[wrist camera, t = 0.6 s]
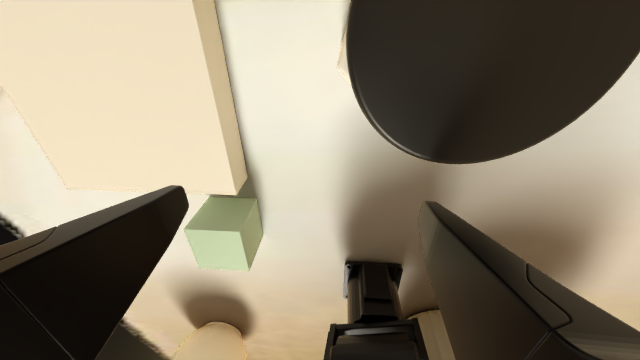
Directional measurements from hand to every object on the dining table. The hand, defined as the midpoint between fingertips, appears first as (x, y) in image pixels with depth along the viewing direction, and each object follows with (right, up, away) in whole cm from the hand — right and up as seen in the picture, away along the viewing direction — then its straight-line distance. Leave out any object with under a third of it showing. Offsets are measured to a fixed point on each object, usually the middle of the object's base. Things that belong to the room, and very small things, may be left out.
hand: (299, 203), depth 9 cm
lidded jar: (-15, -23, +31) cm, 41 cm away
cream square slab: (-14, +8, +11) cm, 20 cm away
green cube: (-8, -3, +18) cm, 20 cm away
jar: (+7, +11, +8) cm, 15 cm away
